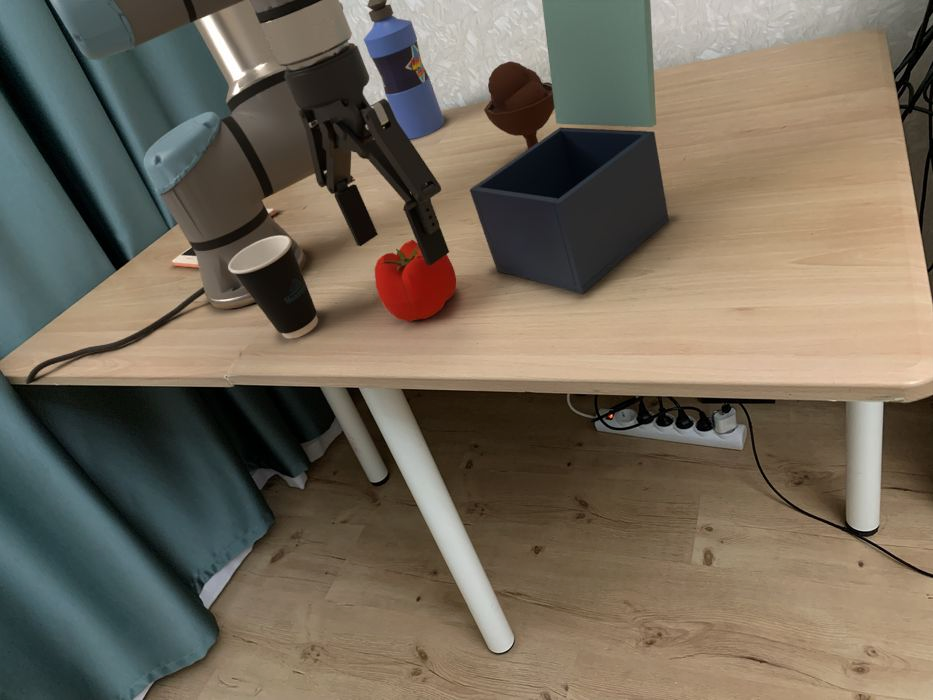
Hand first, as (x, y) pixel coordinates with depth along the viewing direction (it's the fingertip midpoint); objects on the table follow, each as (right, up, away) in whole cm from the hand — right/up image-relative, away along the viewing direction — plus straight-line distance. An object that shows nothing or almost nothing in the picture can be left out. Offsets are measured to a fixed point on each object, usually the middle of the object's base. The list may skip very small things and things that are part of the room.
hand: (400, 248), depth 77 cm
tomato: (+2, -6, +5) cm, 8 cm away
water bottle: (-1, +32, +61) cm, 69 cm away
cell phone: (-35, +8, +46) cm, 58 cm away
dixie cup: (-14, -8, +11) cm, 19 cm away
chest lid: (+21, +21, -3) cm, 30 cm away
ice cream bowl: (+18, +18, +31) cm, 40 cm away
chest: (+21, +1, +5) cm, 21 cm away
